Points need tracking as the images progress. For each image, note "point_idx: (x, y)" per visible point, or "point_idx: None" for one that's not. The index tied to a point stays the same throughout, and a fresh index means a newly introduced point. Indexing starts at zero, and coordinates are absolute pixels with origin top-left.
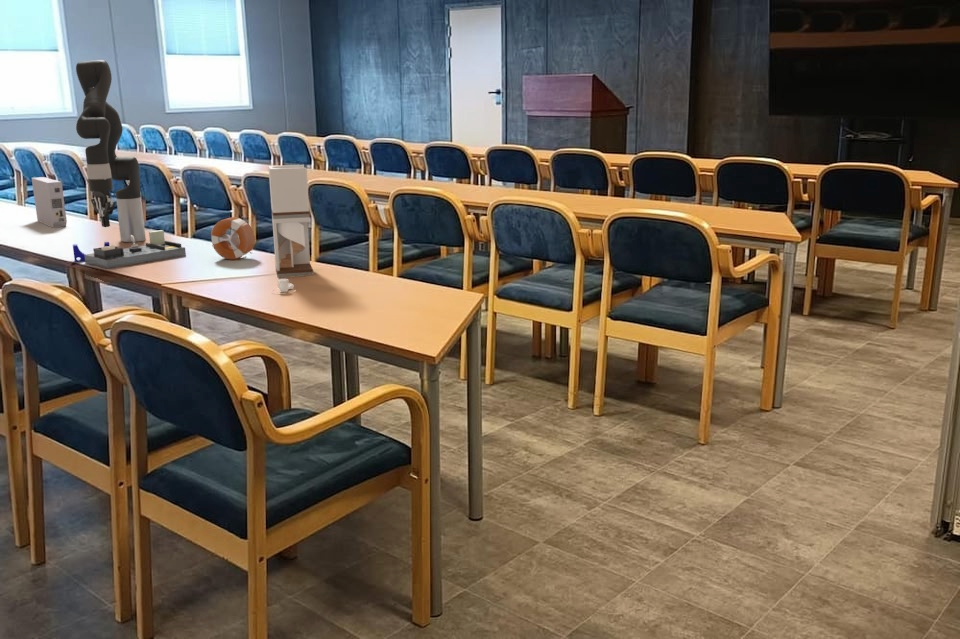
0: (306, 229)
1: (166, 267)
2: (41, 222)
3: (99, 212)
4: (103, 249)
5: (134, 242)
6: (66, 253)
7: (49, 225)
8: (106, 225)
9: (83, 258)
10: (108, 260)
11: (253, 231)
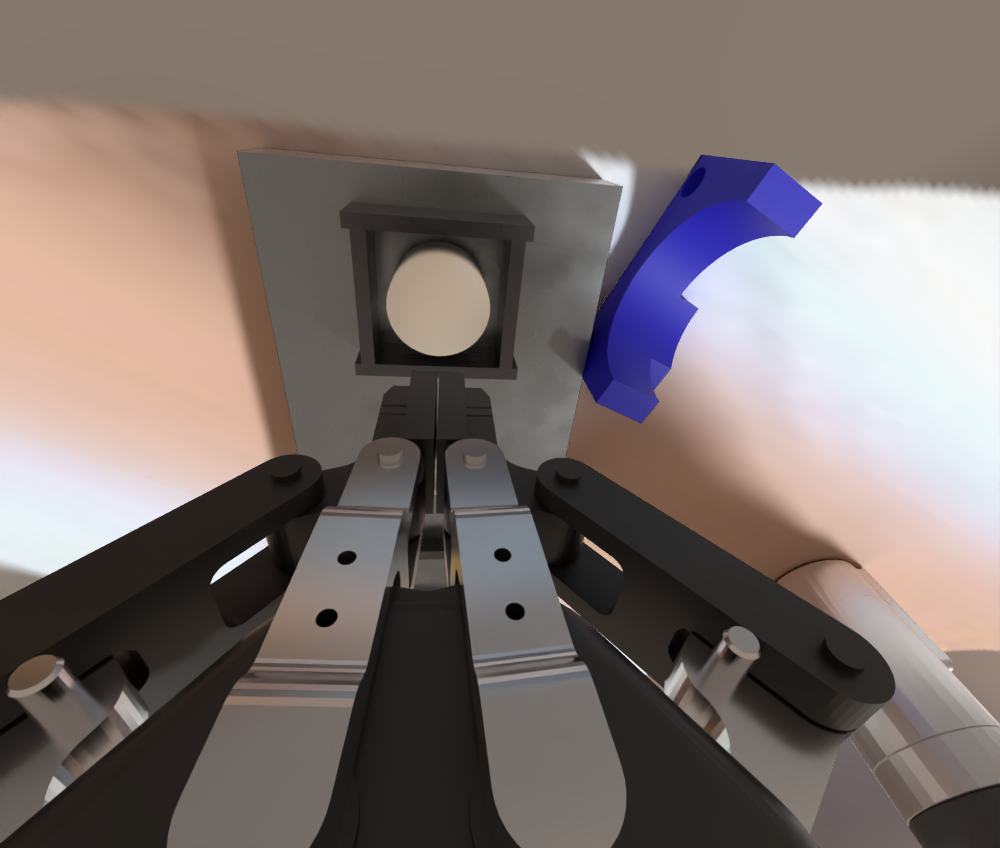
0: None
1: (63, 408)
2: None
3: (486, 476)
4: (423, 255)
5: (435, 487)
6: (950, 288)
7: None
8: (392, 395)
9: (673, 214)
10: (242, 169)
11: None
